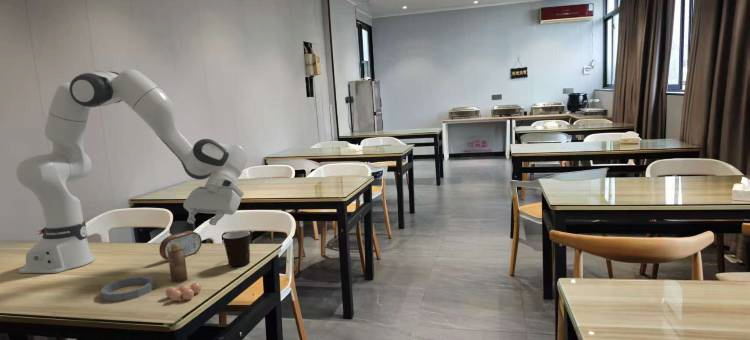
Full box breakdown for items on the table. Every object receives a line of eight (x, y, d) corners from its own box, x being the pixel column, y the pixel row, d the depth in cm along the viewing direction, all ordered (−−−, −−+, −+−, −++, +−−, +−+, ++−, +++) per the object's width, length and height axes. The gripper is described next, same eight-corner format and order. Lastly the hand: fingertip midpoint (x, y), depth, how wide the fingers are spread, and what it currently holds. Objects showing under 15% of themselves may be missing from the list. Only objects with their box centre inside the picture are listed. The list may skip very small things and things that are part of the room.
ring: (92, 302, 135) (91, 295, 134) (116, 284, 148) (115, 278, 147) (142, 299, 135) (141, 292, 135) (161, 281, 148) (160, 274, 148)
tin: (199, 250, 178) (196, 227, 177) (204, 251, 176) (201, 228, 175) (160, 263, 166) (157, 239, 165) (165, 264, 164) (162, 240, 163)
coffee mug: (245, 269, 154) (242, 238, 153) (220, 268, 156) (217, 238, 155) (261, 256, 166) (258, 228, 164) (238, 256, 167) (234, 228, 166)
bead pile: (160, 304, 131) (159, 293, 130) (171, 293, 138) (169, 282, 138) (194, 301, 131) (193, 290, 130) (203, 290, 138) (202, 280, 138)
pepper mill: (168, 283, 146) (164, 245, 144) (174, 277, 151) (169, 241, 149) (184, 281, 146) (179, 244, 145) (189, 276, 151) (185, 240, 149)
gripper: (190, 181, 165) (170, 216, 158) (237, 182, 156) (218, 220, 149) (202, 191, 170) (183, 226, 163) (248, 193, 161) (230, 230, 154)
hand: (200, 223), depth 156 cm, fingers open, 8 cm apart
